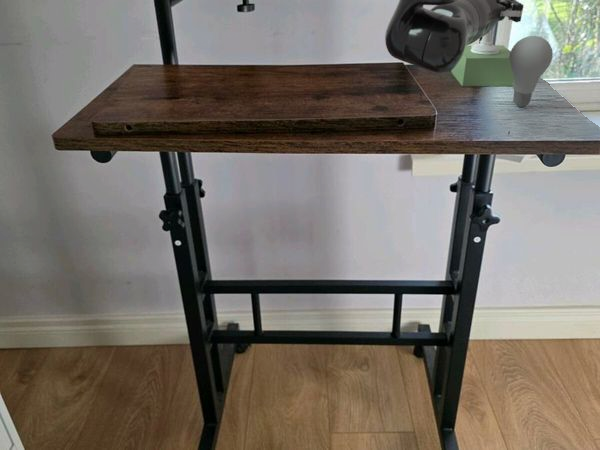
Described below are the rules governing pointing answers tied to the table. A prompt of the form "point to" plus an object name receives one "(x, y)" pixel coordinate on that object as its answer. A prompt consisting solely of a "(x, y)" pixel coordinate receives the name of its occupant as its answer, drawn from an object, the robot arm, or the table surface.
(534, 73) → the lightbulb
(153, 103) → the table surface
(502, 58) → the green block
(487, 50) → the chess piece
